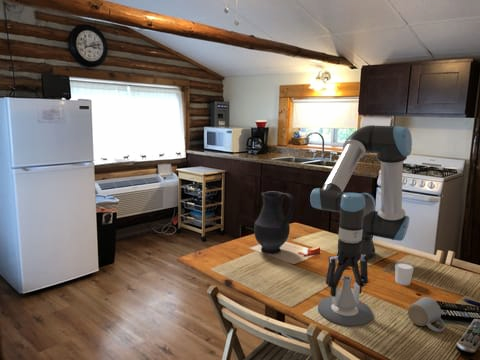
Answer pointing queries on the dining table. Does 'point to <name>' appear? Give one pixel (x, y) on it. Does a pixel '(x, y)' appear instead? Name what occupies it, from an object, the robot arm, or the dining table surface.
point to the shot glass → (403, 273)
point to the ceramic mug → (426, 313)
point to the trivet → (345, 313)
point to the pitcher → (273, 222)
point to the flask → (346, 295)
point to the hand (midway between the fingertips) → (345, 303)
